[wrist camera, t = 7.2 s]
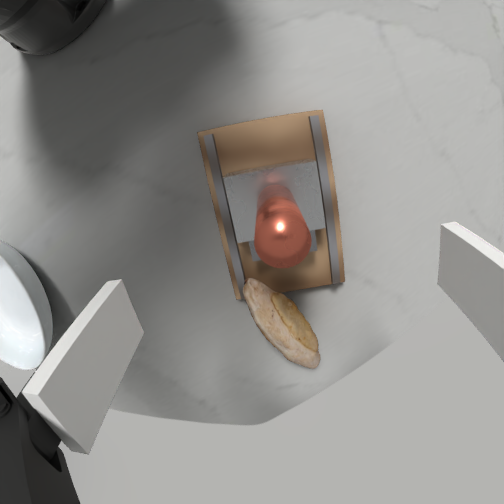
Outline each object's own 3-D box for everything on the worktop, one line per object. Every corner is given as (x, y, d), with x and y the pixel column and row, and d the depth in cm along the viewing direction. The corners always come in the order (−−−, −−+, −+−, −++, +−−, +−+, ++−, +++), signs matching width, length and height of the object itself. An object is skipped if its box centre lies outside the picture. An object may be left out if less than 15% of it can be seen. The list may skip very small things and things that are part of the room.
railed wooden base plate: (200, 132, 29) (194, 132, 27) (319, 110, 28) (324, 108, 25) (237, 293, 35) (235, 304, 33) (341, 275, 34) (347, 285, 32)
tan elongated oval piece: (256, 294, 27) (220, 310, 29) (331, 373, 32) (298, 382, 34) (265, 258, 31) (232, 275, 33) (332, 338, 37) (302, 348, 39)
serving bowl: (51, 223, 33) (18, 242, 27) (83, 355, 41) (64, 384, 34) (-33, 224, 34) (-61, 239, 27) (-1, 333, 41) (-21, 353, 35)
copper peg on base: (226, 173, 29) (200, 203, 17) (310, 158, 28) (346, 177, 16) (243, 251, 32) (232, 326, 19) (322, 237, 31) (357, 305, 19)
